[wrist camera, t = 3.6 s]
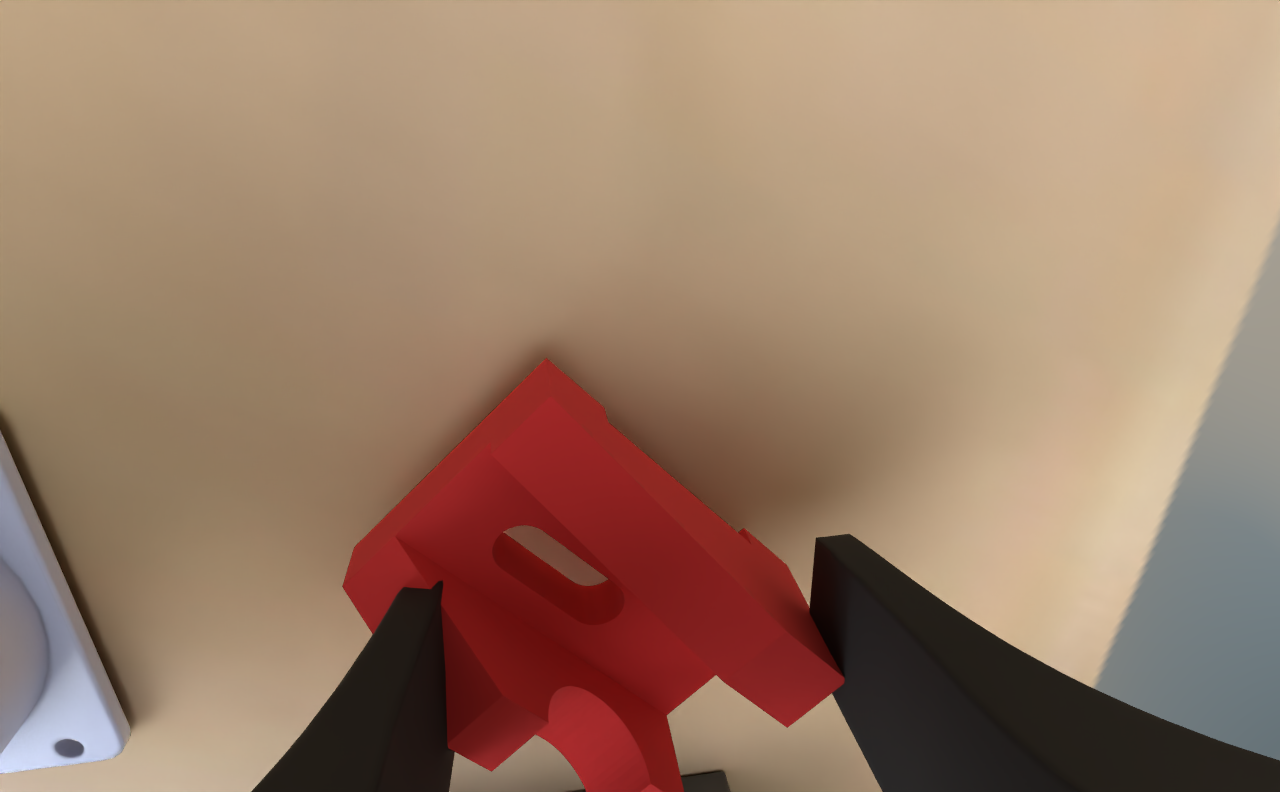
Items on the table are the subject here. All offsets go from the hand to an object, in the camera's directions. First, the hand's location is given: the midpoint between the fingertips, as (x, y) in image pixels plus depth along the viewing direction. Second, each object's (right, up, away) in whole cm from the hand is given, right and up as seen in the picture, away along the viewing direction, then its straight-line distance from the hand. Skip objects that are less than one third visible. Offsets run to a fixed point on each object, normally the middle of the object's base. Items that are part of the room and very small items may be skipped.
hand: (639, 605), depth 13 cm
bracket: (-1, +1, +1) cm, 2 cm away
